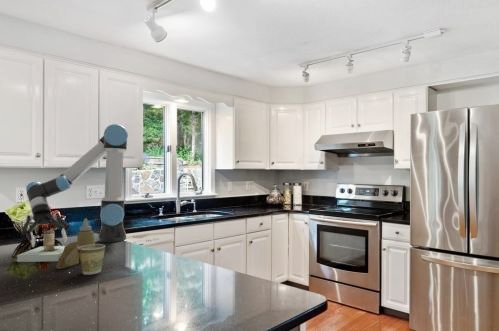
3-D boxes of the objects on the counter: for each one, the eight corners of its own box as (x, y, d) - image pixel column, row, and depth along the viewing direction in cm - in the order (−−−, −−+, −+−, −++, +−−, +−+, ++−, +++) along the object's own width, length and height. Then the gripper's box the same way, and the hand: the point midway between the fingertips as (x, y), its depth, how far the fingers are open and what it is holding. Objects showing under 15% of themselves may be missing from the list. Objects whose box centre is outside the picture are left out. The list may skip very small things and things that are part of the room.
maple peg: (56, 255, 172) (56, 230, 172) (51, 257, 167) (51, 231, 167) (47, 255, 171) (46, 230, 172) (41, 257, 167) (41, 231, 167)
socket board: (77, 252, 178) (77, 245, 178) (58, 261, 160) (58, 254, 160) (40, 252, 178) (40, 246, 178) (17, 261, 160) (17, 255, 160)
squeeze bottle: (98, 256, 169) (98, 217, 169) (89, 260, 161) (89, 219, 161) (82, 255, 170) (82, 217, 170) (72, 260, 162) (72, 219, 162)
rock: (58, 265, 144) (84, 257, 151) (51, 246, 147) (77, 240, 154) (54, 277, 151) (79, 269, 157) (48, 258, 154) (73, 251, 161)
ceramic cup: (95, 276, 136) (94, 249, 136) (71, 275, 138) (71, 249, 138) (114, 267, 149) (114, 242, 149) (93, 266, 151) (92, 242, 151)
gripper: (65, 211, 189) (76, 243, 178) (9, 215, 171) (17, 252, 161) (69, 201, 185) (80, 234, 175) (11, 205, 168) (20, 242, 157)
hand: (50, 243), depth 168 cm, fingers open, 13 cm apart
